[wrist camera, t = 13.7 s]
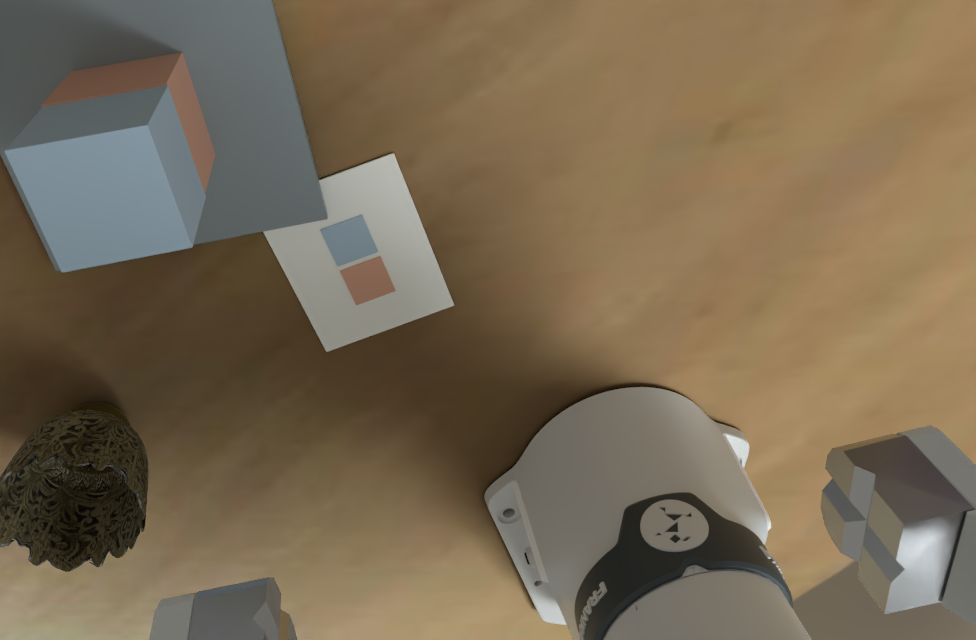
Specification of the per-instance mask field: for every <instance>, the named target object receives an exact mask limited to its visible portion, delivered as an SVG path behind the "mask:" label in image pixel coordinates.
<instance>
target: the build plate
mask: <svg viewBox="0 0 976 640" xmlns="http://www.w3.org/2000/svg"><path fill="white" fill-rule="evenodd" d="M181 52H182V53H183V56H184V59H185V62H186V65H187V68H188V71H189V74H190V77H191V80H192V83H193V86H194V90H195V93H196V96H197V99H198V102H199V105H200V108H201V111H202V114H203V117H204V120H205V123H206V126H207V129H208V133H209V136H210V139H211V142H212V145H213V148H214V151H215V154H216V155H215V159H214V163H213V166H212V170H211V174H210V177H209V181H208V185H207V188H206V192H205V195H206V199H205V202H204V206H203V210H202V214H201V217H200V221H199V225H198V229H197V232H196V236H195V240H194V244H193V245H196V244H201V243H206V242H212V241H217V240H222V239H227V238H232V237H238V236H243V235H248V234H253V233H258V232H264V231H269V230H274V229H279V228H284V227H289V226H295V225H300V224H305V223H310V222H315V221H321V220H326V219H328V213H327V209H326V205H325V202H324V198H323V194H322V190H321V186H320V182H319V178H318V174H317V170H316V166H315V162H314V158H313V154H312V150H311V146H310V143H309V139H308V135H307V131H306V127H305V123H304V119H303V115H302V111H301V108H300V104H299V100H298V96H297V92H296V88H295V84H294V80H293V76H292V73H291V69H290V65H289V61H288V57H287V53H286V49H285V45H284V41H283V38H282V34H281V30H280V26H279V22H278V18H277V14H276V10H275V6H274V2H273V0H0V155H1V157H2V159H3V161H4V163H5V166H6V168H7V170H8V172H9V174H10V176H11V178H12V180H13V182H14V184H15V186H16V189H17V191H18V193H19V195H20V197H21V199H22V201H23V203H24V205H25V207H26V210H27V212H28V214H29V216H30V218H31V220H32V222H33V224H34V226H35V228H36V230H37V233H38V235H39V237H40V239H41V241H42V243H43V245H44V247H45V249H46V251H47V253H48V256H49V258H50V260H51V262H52V264H53V266H54V268H55V270H56V271H61V270H60V268H59V265H58V263H57V261H56V259H55V257H54V255H53V253H52V251H51V249H50V246H49V244H48V242H47V240H46V238H45V236H44V234H43V232H42V230H41V227H40V225H39V223H38V221H37V219H36V217H35V215H34V213H33V211H32V208H31V206H30V204H29V202H28V200H27V198H26V196H25V194H24V192H23V189H22V187H21V185H20V183H19V181H18V179H17V177H16V175H15V173H14V170H13V168H12V166H11V164H10V162H9V160H8V158H7V156H6V154H5V149H6V148H7V147H8V146H9V145H10V144H11V143H12V141H13V140H14V139H15V138H16V137H17V136H18V135H19V133H20V132H21V131H22V130H23V129H24V128H25V127H26V126H27V124H28V123H29V122H30V121H31V120H32V119H33V118H34V116H35V115H36V114H37V113H38V112H39V111H40V110H41V109H42V107H41V105H42V104H43V103H44V101H45V100H46V99H47V98H48V97H49V96H50V95H51V94H52V92H53V91H54V90H55V89H56V88H57V87H58V86H59V85H60V83H61V82H62V81H63V80H64V79H65V78H66V77H67V76H68V74H69V73H70V72H71V71H77V70H83V69H88V68H94V67H100V66H106V65H111V64H117V63H123V62H129V61H134V60H140V59H146V58H152V57H157V56H163V55H169V54H175V53H181Z"/></svg>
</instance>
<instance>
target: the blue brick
mask: <svg viewBox="0 0 976 640" xmlns="http://www.w3.org/2000/svg"><path fill="white" fill-rule="evenodd" d="M5 154H6V156H7V158H8V160H9V162H10V164H11V166H12V168H13V170H14V173H15V175H16V177H17V179H18V181H19V183H20V185H21V187H22V189H23V192H24V194H25V196H26V198H27V200H28V202H29V204H30V206H31V208H32V211H33V213H34V215H35V217H36V219H37V221H38V223H39V225H40V227H41V230H42V232H43V234H44V236H45V238H46V240H47V242H48V244H49V246H50V249H51V251H52V253H53V255H54V257H55V259H56V261H57V263H58V265H59V268H60V270H61V272H62V273H63V272H69V271H74V270H79V269H84V268H89V267H95V266H100V265H105V264H110V263H115V262H120V261H126V260H131V259H136V258H141V257H146V256H152V255H157V254H162V253H167V252H172V251H177V250H183V249H188V248H192V247H193V244H194V240H195V236H196V232H197V229H198V225H199V221H200V217H201V214H202V210H203V206H204V202H205V199H206V195H205V192H204V189H203V186H202V183H201V180H200V177H199V174H198V172H197V169H196V166H195V163H194V160H193V157H192V154H191V151H190V148H189V145H188V142H187V139H186V136H185V134H184V131H183V128H182V125H181V122H180V119H179V116H178V113H177V110H176V107H175V104H174V101H173V98H172V96H171V93H170V90H169V87H168V85H165V86H159V87H154V88H148V89H142V90H137V91H131V92H125V93H120V94H114V95H108V96H103V97H97V98H91V99H86V100H80V101H74V102H69V103H63V104H57V105H52V106H46V107H42V109H41V110H40V111H39V112H38V113H37V114H36V115H35V116H34V118H33V119H32V120H31V121H30V122H29V123H28V124H27V126H26V127H25V128H24V129H23V130H22V131H21V132H20V133H19V135H18V136H17V137H16V138H15V139H14V140H13V141H12V143H11V144H10V145H9V146H8V147H7V148H6V149H5Z"/></svg>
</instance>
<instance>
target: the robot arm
mask: <svg viewBox="0 0 976 640" xmlns="http://www.w3.org/2000/svg"><path fill="white" fill-rule="evenodd" d="M748 453H749V443H748V441H747V439H746V437H745V435H744V434H743V433H742V432H741V431H740V430H738V429H735V428H733V427H730V426H727V425H723V424H720V423H716V422H715V421H713V420H712V419H710V418H709V417H708V416H707V415H706V414H705V413H704V412H703V411H702V410H701V409H700V408H699V407H698V406H697V405H696V404H695V403H693V402H692V401H691V400H689V399H687V398H686V397H684V396H682V395H679V394H677V393H674V392H671V391H668V390H664V389H659V388H651V387H630V388H621V389H616V390H611V391H607V392H603V393H600V394H597V395H594V396H591V397H589V398H587V399H584V400H582V401H580V402H578V403H576V404H574V405H572V406H571V407H569V408H567V409H566V410H564V411H562V412H561V413H560V414H558V415H557V416H555V417H554V418H553V419H552V420H551V421H549V422H548V423H547V424H546V425H545V426H544V427H543V428H542V429H541V430H540V431H539V432H538V433H537V434H536V436H535V437H534V438H533V439H532V441H531V442H530V443H529V445H528V447H527V448H526V450H525V451H524V453H523V455H522V456H521V458H520V459H519V461H518V462H517V463H516V465H515V466H514V467H513V468H512V469H510V470H509V471H507V472H506V473H505V474H504V475H502V476H501V477H500V478H498V479H497V480H496V481H495V482H494V483H492V484H491V485H490V486H489V488H488V489H487V490H486V492H485V495H484V499H485V502H486V504H487V507H488V509H489V511H490V514H491V516H492V518H493V520H494V522H495V524H496V526H497V528H498V530H499V532H500V534H501V537H502V539H503V541H504V543H505V545H506V547H507V549H508V551H509V553H510V555H511V557H512V559H513V562H514V564H515V566H516V568H517V570H518V572H519V574H520V576H521V578H522V580H523V582H524V585H525V587H526V589H527V591H528V593H529V595H530V597H531V599H532V601H533V603H534V605H535V607H536V610H537V612H538V614H539V615H540V617H541V619H542V620H543V621H545V622H548V623H554V624H561V625H567V626H568V629H569V631H570V633H571V635H572V638H573V640H811V638H810V636H809V635H808V634H807V632H806V630H805V629H804V627H803V625H802V624H801V622H800V621H799V619H798V617H797V616H796V614H795V612H794V611H793V602H792V596H791V593H790V590H789V588H788V586H787V585H786V583H785V580H784V576H783V574H782V571H781V569H780V568H779V566H778V564H777V562H776V561H775V559H774V558H773V557H772V555H771V554H770V553H769V552H768V551H767V549H766V548H765V546H764V545H765V543H766V540H767V535H768V530H769V529H770V528H771V522H770V518H769V516H768V514H767V512H766V510H765V508H764V506H763V504H762V502H761V500H760V498H759V496H758V495H757V493H756V491H755V489H754V487H753V485H752V483H751V481H750V479H749V478H748V476H747V474H746V472H745V470H744V466H745V463H746V460H747V457H748ZM825 469H826V470H827V471H828V473H829V474H830V475H831V477H832V480H831V481H830V482H829V483H828V484H827V486H826V487H825V488H824V489H823V490H822V499H821V511H822V515H823V519H824V524H825V527H826V529H827V531H828V533H829V535H830V537H831V539H832V541H833V542H834V544H835V545H836V547H837V548H838V550H839V551H840V553H842V554H844V555H846V556H848V557H850V558H852V559H854V560H856V561H858V562H859V570H858V578H859V579H860V581H861V582H862V584H863V585H864V586H865V588H866V589H867V591H868V592H869V593H870V595H871V596H872V598H873V599H874V600H875V602H876V603H877V605H878V606H879V607H880V609H881V610H882V611H883V613H884V614H887V613H892V612H896V611H900V610H905V609H910V608H915V607H919V606H924V605H928V604H933V603H938V602H942V604H941V605H942V606H944V607H946V608H947V609H949V610H950V611H952V612H954V613H955V614H957V615H958V616H960V617H961V618H963V619H965V620H966V621H968V622H969V623H971V624H973V625H974V626H976V465H975V464H974V463H973V462H972V461H971V460H970V459H969V458H968V457H967V456H966V455H965V454H964V453H963V452H962V451H961V450H960V449H959V448H958V447H957V446H956V445H955V444H954V443H953V442H952V441H951V440H950V439H949V438H947V437H946V436H945V435H944V434H943V433H942V432H941V431H940V430H939V429H937V428H935V427H933V426H926V427H921V428H917V429H913V430H908V431H904V432H900V433H897V434H890V435H886V436H882V437H878V438H874V439H869V440H865V441H861V442H857V443H853V444H849V445H844V446H840V447H836V448H832V450H831V451H830V452H829V454H828V455H827V460H826V467H825ZM509 508H511V509H509ZM506 509H509V510H506ZM280 603H281V593H280V591H279V588H278V586H277V584H276V582H275V580H274V578H271V577H269V578H264V579H259V580H254V581H249V582H244V583H239V584H234V585H229V586H224V587H219V588H214V589H209V590H204V591H199V592H197V593H192V594H187V595H182V596H177V597H172V598H168V599H163V600H161V601H160V603H159V605H158V607H157V608H156V610H155V613H154V618H153V623H152V628H151V633H150V639H149V640H297V637H296V633H295V629H294V625H293V623H292V620H291V618H290V615H289V614H288V613H286V612H284V611H282V610H280Z"/></svg>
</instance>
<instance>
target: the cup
mask: <svg viewBox="0 0 976 640" xmlns="http://www.w3.org/2000/svg"><path fill="white" fill-rule="evenodd" d="M147 490H148V459H147V454H146V450H145V447H144V444H143V442H142V440H141V438H140V437H139V435H138V434H137V433H136V431H135V430H134V429H133V428H132V427H131V426H130V423H129V421H128V419H127V417H126V415H125V414H124V413H123V412H122V411H121V410H120V409H118V408H117V407H115V406H113V405H110V404H107V403H103V402H90V403H85V404H82V405H80V406H78V407H76V408H75V409H73V410H72V411H71V412H67V413H63V414H60V415H58V416H55V417H53V418H51V419H50V420H48V421H46V422H45V423H43V424H42V425H41V426H39V427H38V428H37V429H36V430H35V431H34V432H33V433H32V434H31V435H30V436H29V437H28V438H27V440H26V441H25V442H24V443H23V445H22V446H21V447H20V449H19V450H18V452H17V453H16V455H15V456H14V457H13V459H12V460H11V462H10V463H9V465H8V466H7V468H6V469H5V471H4V472H3V474H2V475H1V477H0V547H4V546H9V544H11V542H13V541H15V540H17V542H18V545H19V546H20V547H23V546H26V547H28V548H29V549H30V555H29V557H28V560H29V561H30V562H31V563H32V564H33V565H36V566H37V565H40V564H42V563H43V562H45V561H46V560H48V561H49V562H50V563H51V565H52V566H54V567H56V568H58V569H60V570H63V571H65V572H69V571H71V570H73V569H75V568H77V567H79V566H80V565H82V564H83V563H84V562H86V561H88V560H89V561H90V558H91V561H92V562H93V563H91V562H89V563H91V564H93V565H94V566H96V567H100V566H101V565H102V564H103V562H104V560H105V558H106V555H107V553H108V552H109V551H110V553H111V554H112V556H114V557H115V558H120V557H122V556H123V555H124V554H125V553H126V551H127V549H128V547H129V548H130V549H132V548H133V546H134V544H135V542H136V539H137V537H138V535H139V534H140V529H141V530H142V532H143V531H144V527H145V518H146V504H147ZM11 539H15V540H11Z"/></svg>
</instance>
